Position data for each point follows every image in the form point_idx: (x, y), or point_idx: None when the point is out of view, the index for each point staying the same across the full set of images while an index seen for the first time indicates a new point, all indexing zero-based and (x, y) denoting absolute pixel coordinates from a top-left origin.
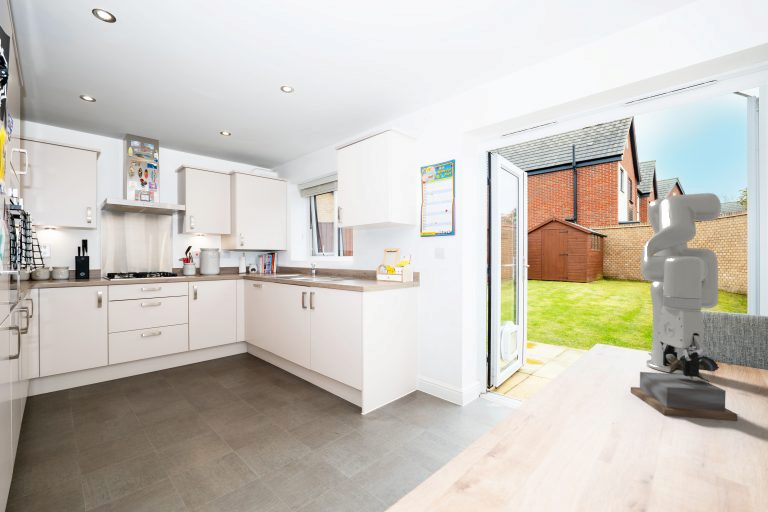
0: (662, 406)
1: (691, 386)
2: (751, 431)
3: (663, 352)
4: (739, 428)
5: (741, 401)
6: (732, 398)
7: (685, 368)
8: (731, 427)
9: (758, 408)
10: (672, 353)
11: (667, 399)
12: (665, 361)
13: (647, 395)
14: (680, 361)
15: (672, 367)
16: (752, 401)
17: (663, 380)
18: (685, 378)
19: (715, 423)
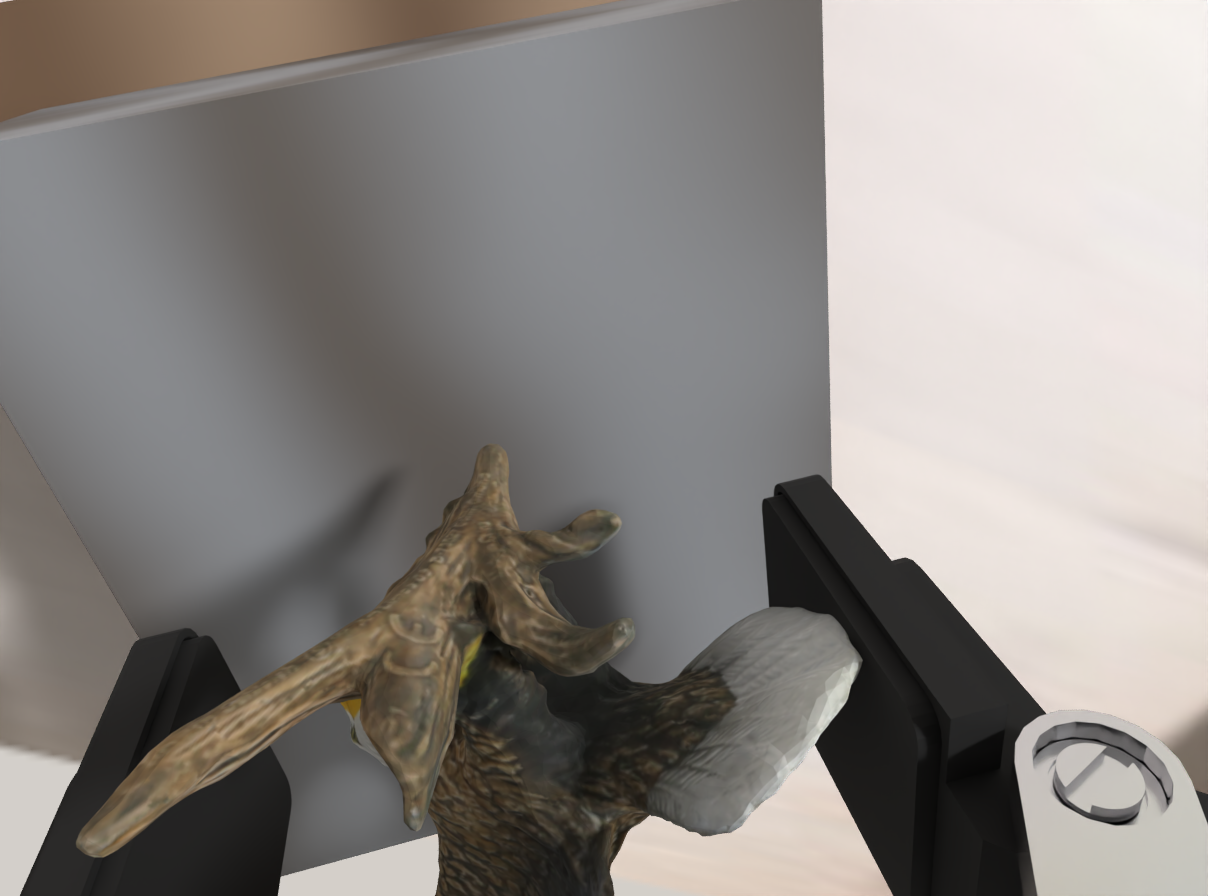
0: (21, 45)
1: (237, 592)
2: (51, 713)
3: (974, 679)
4: (66, 657)
5: (761, 829)
6: (810, 801)
7: (82, 770)
8: (44, 609)
9: (648, 873)
10: (906, 835)
11: None
12: (800, 553)
13: (457, 2)
14: (563, 809)
15: (420, 562)
16: (780, 878)
17: (365, 265)
18: (641, 627)
19: (65, 518)
